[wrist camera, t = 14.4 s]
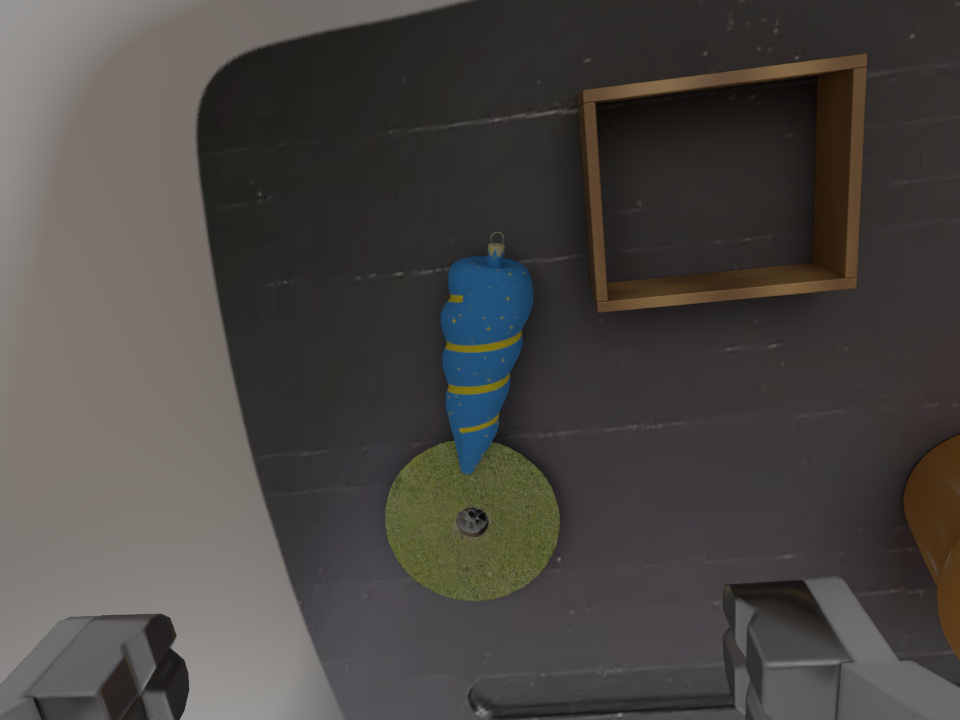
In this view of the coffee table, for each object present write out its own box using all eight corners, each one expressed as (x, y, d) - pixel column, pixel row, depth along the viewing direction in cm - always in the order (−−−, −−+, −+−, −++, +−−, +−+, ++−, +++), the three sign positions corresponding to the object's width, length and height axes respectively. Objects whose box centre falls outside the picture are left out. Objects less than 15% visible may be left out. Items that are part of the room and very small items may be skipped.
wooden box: (591, 294, 42) (597, 313, 37) (577, 94, 38) (582, 90, 34) (822, 271, 40) (856, 288, 36) (829, 61, 37) (867, 53, 32)
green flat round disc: (356, 511, 47) (349, 524, 45) (468, 395, 45) (466, 403, 43) (477, 616, 48) (476, 633, 46) (593, 508, 46) (596, 522, 44)
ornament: (429, 451, 46) (447, 220, 40) (507, 456, 46) (535, 227, 41) (427, 492, 41) (447, 235, 36) (514, 497, 41) (547, 244, 36)
